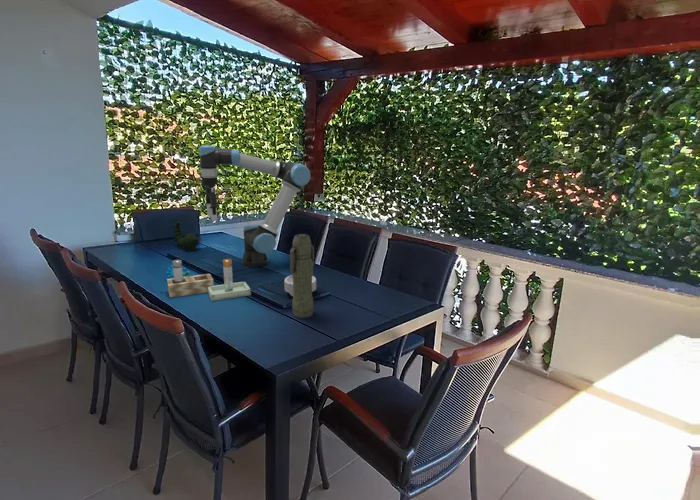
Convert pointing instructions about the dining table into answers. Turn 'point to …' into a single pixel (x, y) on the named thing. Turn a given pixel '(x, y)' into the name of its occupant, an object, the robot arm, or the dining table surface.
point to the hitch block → (190, 285)
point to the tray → (220, 294)
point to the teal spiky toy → (173, 272)
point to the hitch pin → (228, 275)
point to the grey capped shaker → (178, 271)
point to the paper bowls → (289, 284)
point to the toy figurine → (185, 239)
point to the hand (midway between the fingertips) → (212, 218)
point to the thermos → (302, 275)
